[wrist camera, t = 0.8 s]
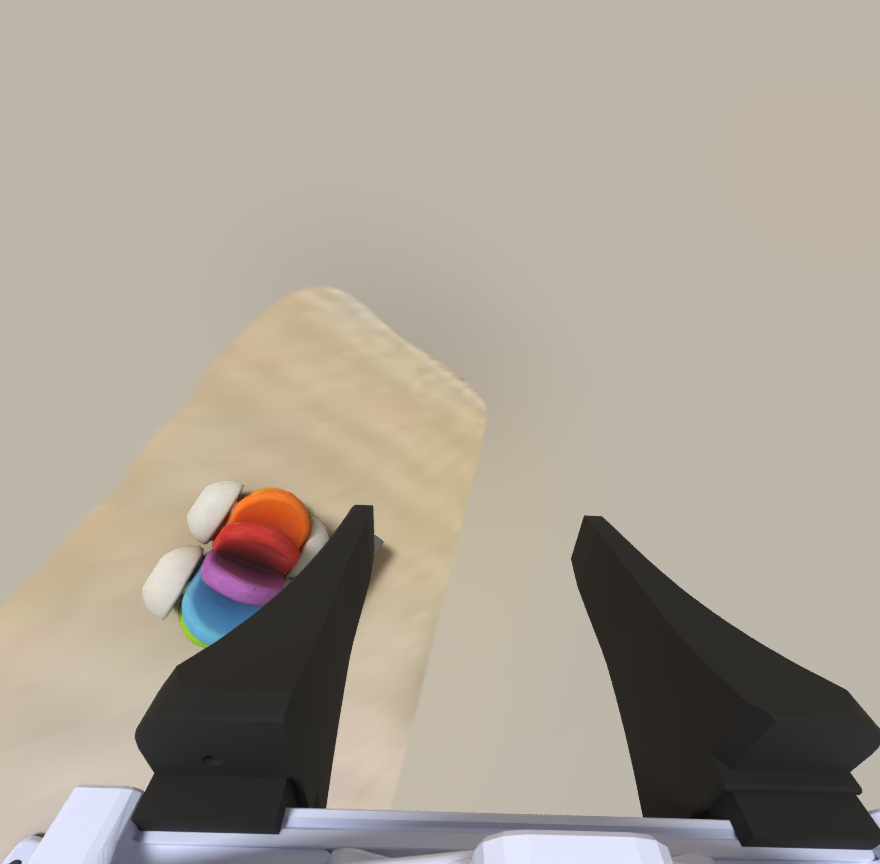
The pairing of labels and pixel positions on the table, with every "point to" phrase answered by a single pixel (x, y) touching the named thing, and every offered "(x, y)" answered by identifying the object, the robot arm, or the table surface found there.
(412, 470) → the table surface
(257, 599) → the rainbow disc baby rattle
